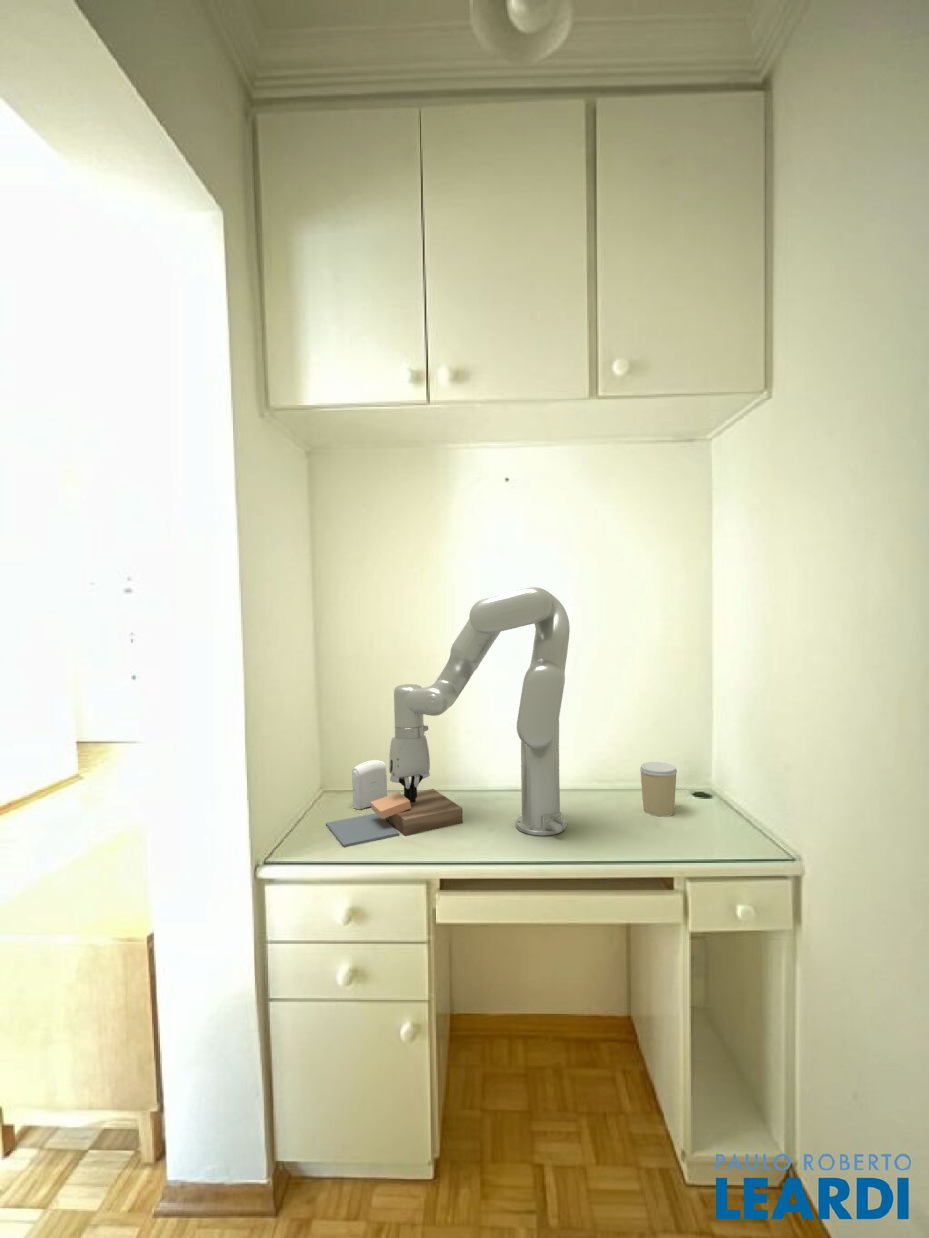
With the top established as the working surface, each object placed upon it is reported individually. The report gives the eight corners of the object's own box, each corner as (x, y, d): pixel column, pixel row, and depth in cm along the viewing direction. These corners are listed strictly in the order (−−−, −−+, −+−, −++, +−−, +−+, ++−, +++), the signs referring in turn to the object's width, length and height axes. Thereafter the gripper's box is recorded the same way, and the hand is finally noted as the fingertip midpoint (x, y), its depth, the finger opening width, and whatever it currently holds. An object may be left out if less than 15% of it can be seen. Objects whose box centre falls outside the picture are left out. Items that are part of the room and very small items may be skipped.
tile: (411, 808, 154) (409, 800, 153) (382, 819, 150) (380, 811, 150) (400, 798, 161) (398, 791, 161) (371, 809, 157) (370, 802, 157)
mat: (399, 835, 148) (399, 832, 148) (343, 847, 142) (343, 844, 142) (377, 814, 162) (377, 812, 162) (325, 825, 156) (325, 822, 156)
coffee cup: (684, 812, 160) (684, 767, 159) (662, 820, 154) (661, 773, 154) (655, 802, 167) (655, 759, 167) (633, 810, 162) (632, 765, 162)
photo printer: (359, 811, 166) (358, 766, 165) (350, 807, 169) (349, 763, 168) (389, 801, 173) (388, 759, 172) (380, 798, 176) (379, 756, 175)
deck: (462, 823, 155) (462, 807, 155) (404, 835, 148) (404, 819, 148) (433, 802, 171) (433, 788, 171) (379, 813, 164) (379, 798, 164)
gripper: (429, 726, 164) (431, 792, 165) (377, 732, 157) (378, 802, 158) (441, 731, 157) (442, 801, 158) (386, 738, 151) (388, 811, 151)
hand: (410, 801), depth 158 cm, fingers closed
